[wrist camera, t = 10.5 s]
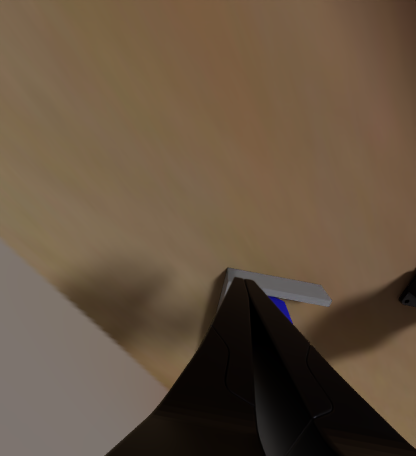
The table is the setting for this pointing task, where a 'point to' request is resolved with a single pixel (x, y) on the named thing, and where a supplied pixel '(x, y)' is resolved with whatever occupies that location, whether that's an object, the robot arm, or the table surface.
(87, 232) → the table surface
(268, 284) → the bracket
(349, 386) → the robot arm
